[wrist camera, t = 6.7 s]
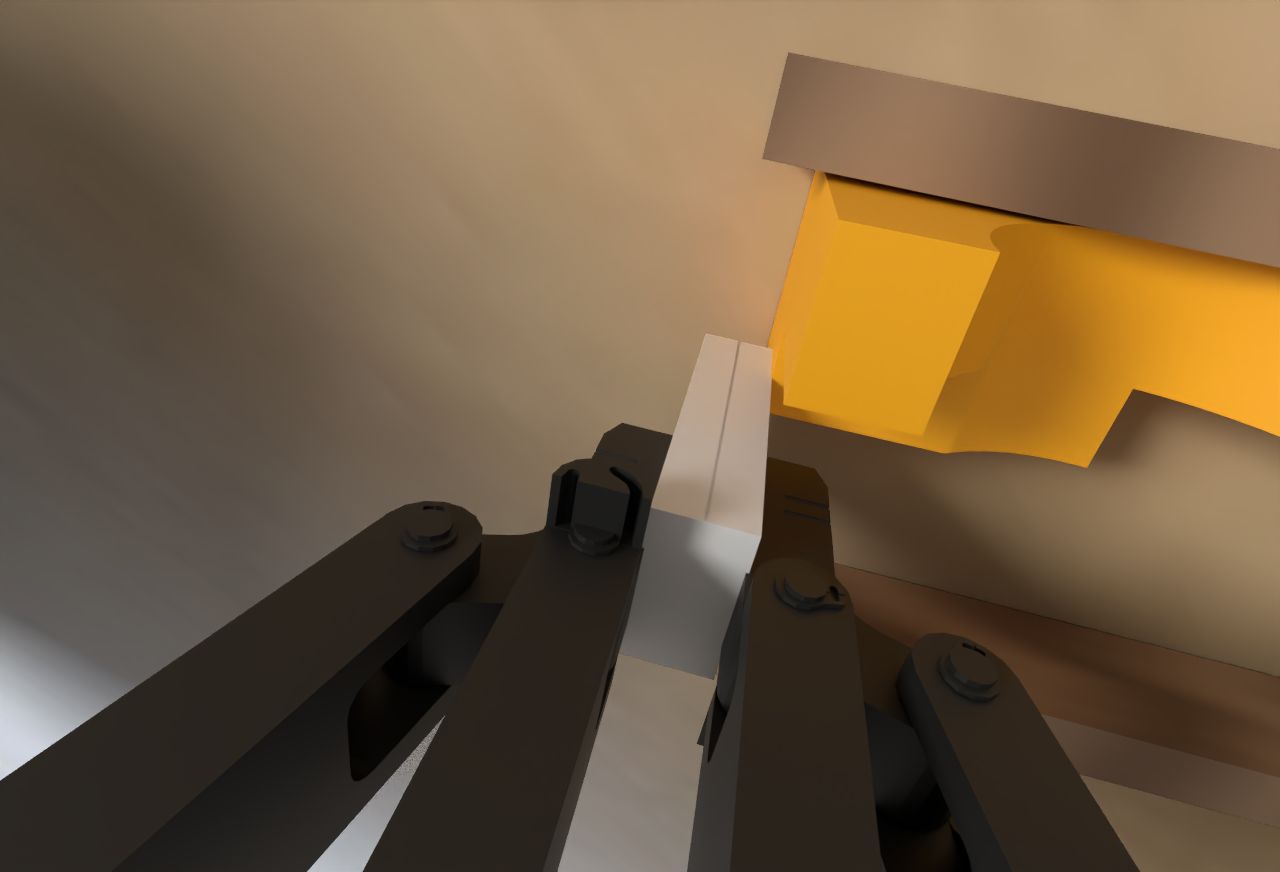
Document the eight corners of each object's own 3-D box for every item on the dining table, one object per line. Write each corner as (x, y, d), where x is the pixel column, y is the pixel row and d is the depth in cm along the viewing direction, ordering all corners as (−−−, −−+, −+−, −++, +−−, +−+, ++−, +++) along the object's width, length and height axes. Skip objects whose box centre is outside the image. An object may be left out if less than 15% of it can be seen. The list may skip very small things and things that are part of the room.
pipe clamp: (765, 350, 16) (753, 504, 11) (819, 155, 14) (839, 219, 8) (1303, 470, 15) (1605, 710, 9) (1453, 279, 13) (1957, 447, 7)
